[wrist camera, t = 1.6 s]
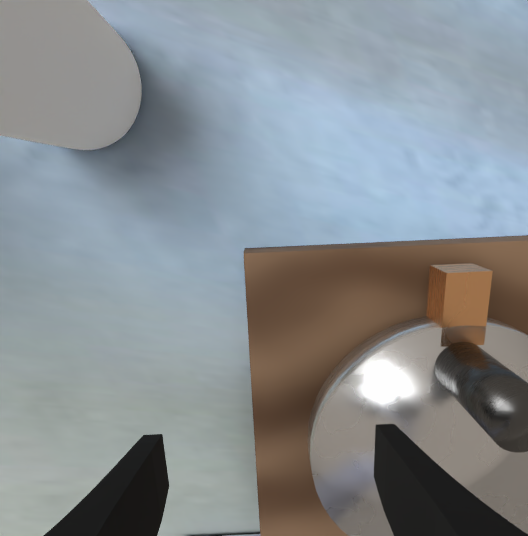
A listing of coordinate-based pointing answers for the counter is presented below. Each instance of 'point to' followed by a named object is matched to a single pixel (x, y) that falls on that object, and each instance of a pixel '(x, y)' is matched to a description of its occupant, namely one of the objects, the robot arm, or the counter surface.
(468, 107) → the counter surface
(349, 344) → the base board
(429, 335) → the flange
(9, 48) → the can
